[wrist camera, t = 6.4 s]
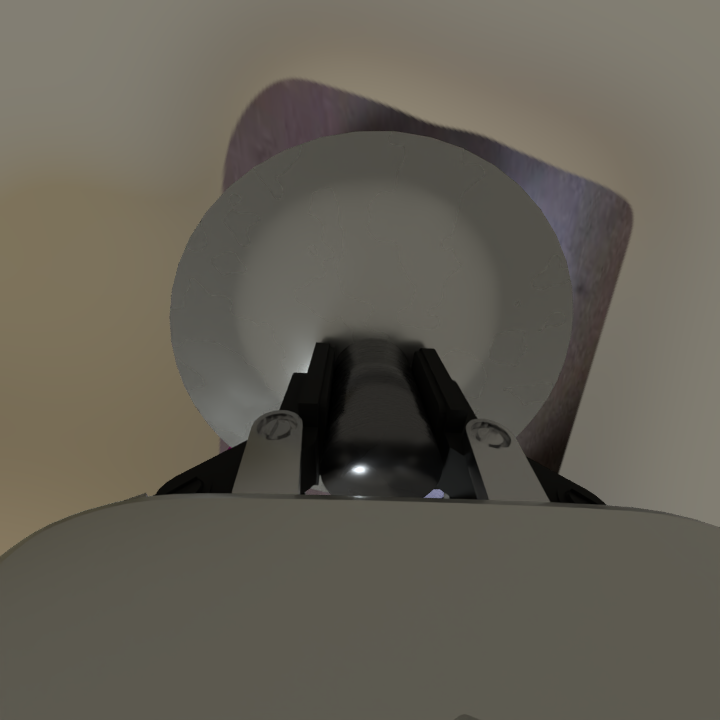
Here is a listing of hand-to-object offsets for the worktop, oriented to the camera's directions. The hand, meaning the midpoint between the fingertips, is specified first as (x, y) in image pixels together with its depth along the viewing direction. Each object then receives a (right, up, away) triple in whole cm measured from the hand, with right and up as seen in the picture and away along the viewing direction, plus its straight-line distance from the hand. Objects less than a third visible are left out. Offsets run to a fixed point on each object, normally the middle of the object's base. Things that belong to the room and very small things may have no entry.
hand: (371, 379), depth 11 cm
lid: (0, +1, +1) cm, 1 cm away
